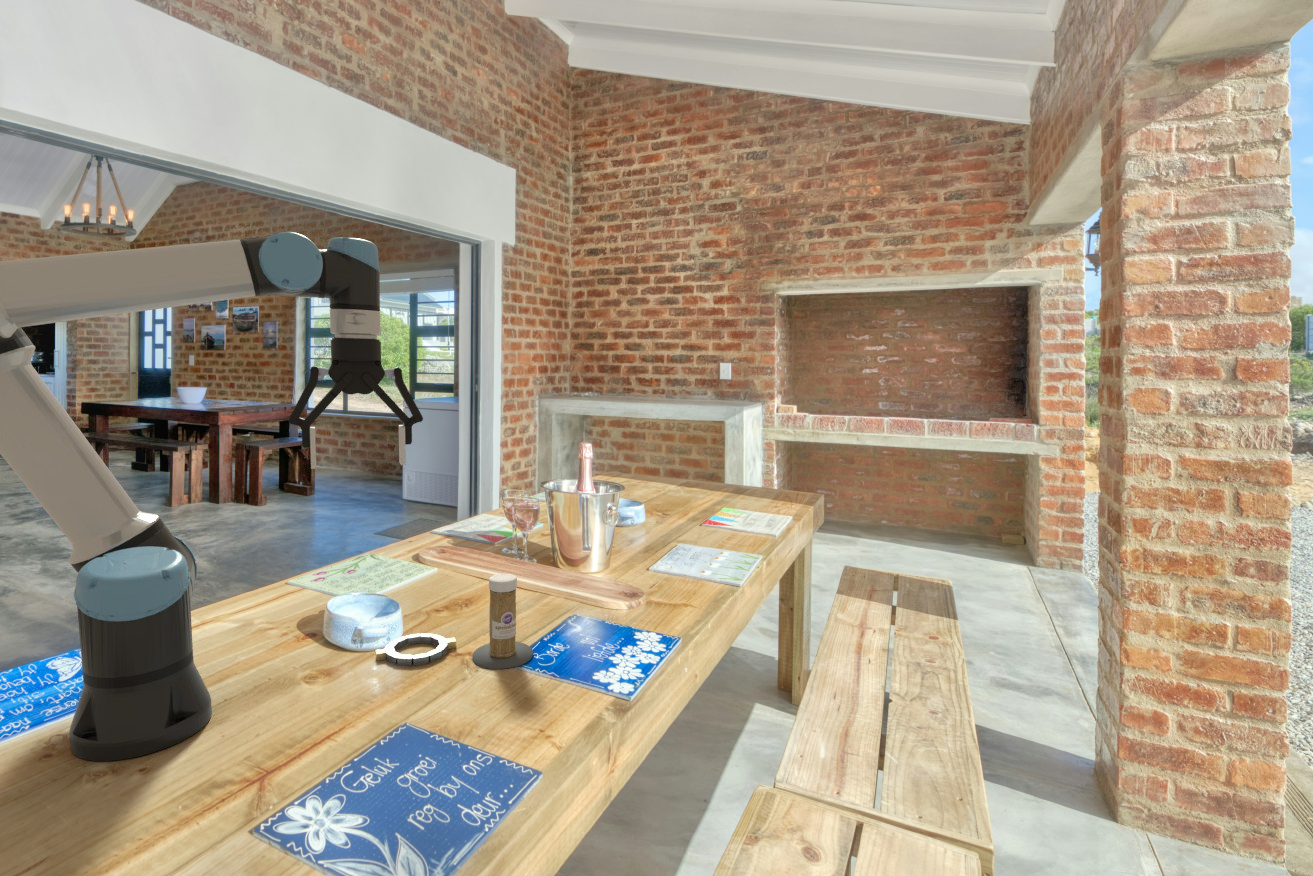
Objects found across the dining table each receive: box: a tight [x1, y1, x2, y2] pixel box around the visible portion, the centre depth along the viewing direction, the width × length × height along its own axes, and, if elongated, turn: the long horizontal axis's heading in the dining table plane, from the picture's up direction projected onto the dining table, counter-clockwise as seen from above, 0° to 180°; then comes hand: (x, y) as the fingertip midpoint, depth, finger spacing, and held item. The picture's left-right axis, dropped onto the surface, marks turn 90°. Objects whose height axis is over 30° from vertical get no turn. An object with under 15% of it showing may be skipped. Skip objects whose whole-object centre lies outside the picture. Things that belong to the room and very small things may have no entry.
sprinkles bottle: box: [488, 573, 518, 658], centre depth 115 cm, size 5×5×13 cm
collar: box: [375, 632, 457, 667], centre depth 116 cm, size 13×10×1 cm
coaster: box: [472, 641, 534, 670], centre depth 116 cm, size 10×10×1 cm
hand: (359, 465), depth 114 cm, fingers open, 13 cm apart
